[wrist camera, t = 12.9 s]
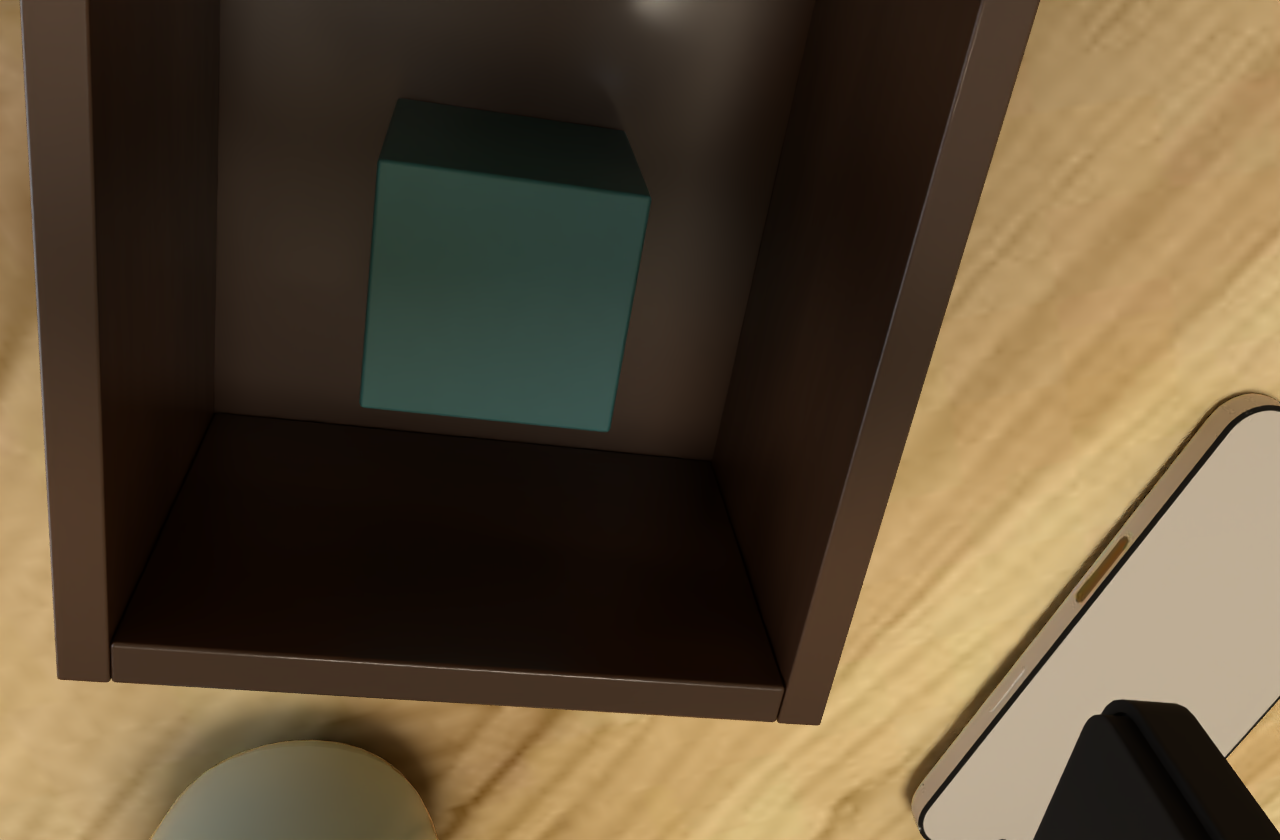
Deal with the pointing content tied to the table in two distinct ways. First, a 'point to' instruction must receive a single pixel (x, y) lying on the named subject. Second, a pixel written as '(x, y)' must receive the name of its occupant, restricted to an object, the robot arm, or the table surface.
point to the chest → (472, 448)
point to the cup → (299, 797)
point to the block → (501, 267)
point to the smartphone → (1138, 633)
